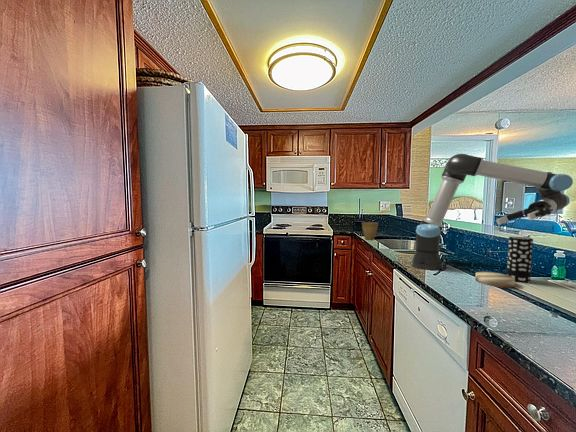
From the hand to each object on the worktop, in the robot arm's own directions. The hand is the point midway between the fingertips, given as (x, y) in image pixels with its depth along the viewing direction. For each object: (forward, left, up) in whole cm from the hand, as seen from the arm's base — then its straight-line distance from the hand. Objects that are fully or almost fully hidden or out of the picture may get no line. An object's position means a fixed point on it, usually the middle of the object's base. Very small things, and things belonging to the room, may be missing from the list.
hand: (512, 219), depth 120 cm
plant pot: (-120, -31, -29) cm, 127 cm away
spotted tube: (0, +4, -29) cm, 29 cm away
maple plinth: (+4, -10, -28) cm, 30 cm away
